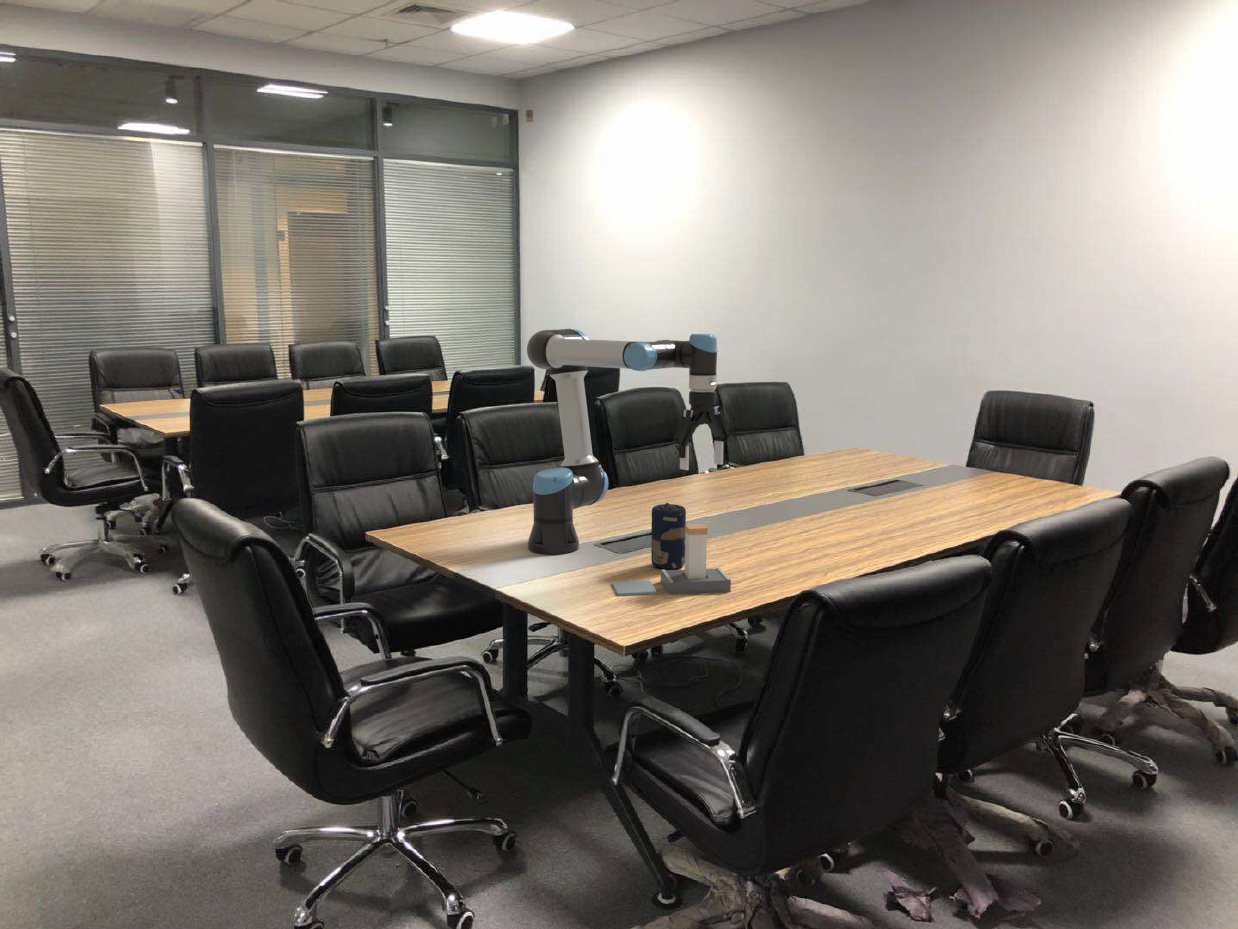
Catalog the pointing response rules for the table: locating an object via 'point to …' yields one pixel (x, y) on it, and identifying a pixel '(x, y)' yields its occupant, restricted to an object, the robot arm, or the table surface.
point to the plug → (695, 551)
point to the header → (695, 582)
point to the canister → (668, 536)
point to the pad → (634, 588)
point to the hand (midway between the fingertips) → (701, 466)
